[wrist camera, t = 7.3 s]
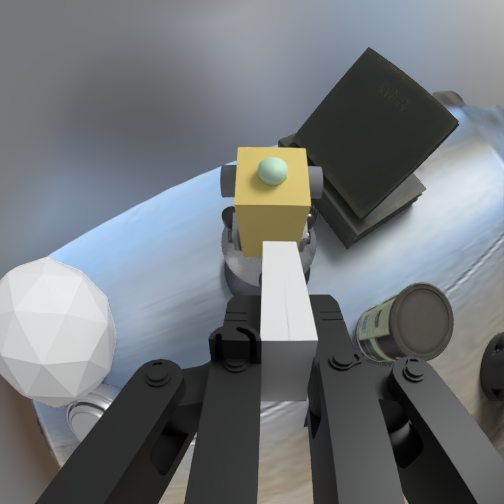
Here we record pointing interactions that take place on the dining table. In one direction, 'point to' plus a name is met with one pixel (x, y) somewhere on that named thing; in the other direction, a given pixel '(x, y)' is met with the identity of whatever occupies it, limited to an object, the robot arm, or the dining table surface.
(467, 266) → the dining table surface
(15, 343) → the lamp
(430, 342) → the coffee can
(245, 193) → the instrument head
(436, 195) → the dining table surface
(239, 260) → the stand
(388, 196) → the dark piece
